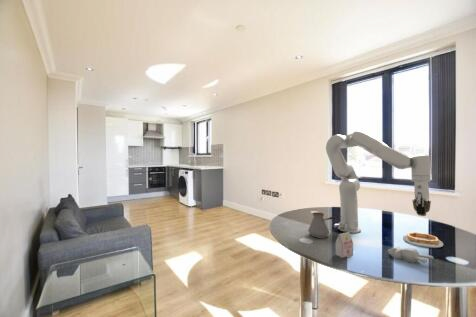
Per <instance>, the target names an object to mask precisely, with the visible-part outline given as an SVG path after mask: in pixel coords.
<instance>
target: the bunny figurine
mask: <svg viewBox="0 0 476 317" xmlns="http://www.w3.org/2000/svg"><path fill="white" fill-rule="evenodd" d="M387 254H390V256H391V257H392V258H395V259H399V260H403V261H404V262H407V263H411V264H414V263H416V262H420V263H424V264H426V263H428V260H429V259H430V260H434V256H433V255H429V254H420V252H419V251H418V249H416V248H412V247H400V246H395V247H391V248H389V249H387Z"/></svg>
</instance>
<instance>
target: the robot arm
mask: <svg viewBox="0 0 476 317" xmlns="http://www.w3.org/2000/svg"><path fill="white" fill-rule="evenodd" d="M352 147H353V148H354V147H360V148H361V149H363V150H364V151H367V152H368V153H370V154H372V155H373V156H375V157H377V158H379V159H380V160H382V161H384V162H385V163H387V164H388V165H390V166H392V167H394V168H396V169H398V170H405V169H406V170H407V169H410V170H411V182H414V184H413V185H414V186H413V187H414V189H413V190H414V199H415V200H416V201H417V206H416V211H415V212H416V214H417V215H418V214H423V215H424V214H425V207H424V201H428V200H429V201H430V191H429V183H430V182H431V165H430V164H431V163H430V162H431V161H430V160H431V158H430V156H429V155H427V154H415V155H405V154H403V153H401V152H399V151H397V149H396V150H395V149H394V148H392V147H390V146H388V144H386V143H385V142H383V141H382V140H379V139H377V138H376V137H374V136H372V135H370V134H368V133H366V132H365V131H362V130H355V131H353V132H352V133H350V134H345V135H343V134H334V135H332V136H330V138H329V139H328V140H327V142H326V145H325V150H326V155H327V156H328V159H329V162H330V165H331V167H332V169H333V172H334V174H335V176H337V177H338V178H340V180H341V182H340V184H339V186H338V188H339V198H340V202H339V203H340V215H341V217H340V221H339V222H338V223H334V224H333V227H334V228H337V229H338V230H340V232H341V231H342V232H343V233H347V232H350V234H353V233H354V234H358V233H361V232H362V228H361V227H359V210H358V206H359V205H358V195H357V194H358V191H359V190H360V187H361V183H360V181H359V178H358V176H357V173H356V171H355V168H354V167H353V166H352V164H350V163H349V162H347V161H346V159H345V156H344V154H343V153H342V151H341V149H348V148H352ZM342 217H343V219H342Z"/></svg>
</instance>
